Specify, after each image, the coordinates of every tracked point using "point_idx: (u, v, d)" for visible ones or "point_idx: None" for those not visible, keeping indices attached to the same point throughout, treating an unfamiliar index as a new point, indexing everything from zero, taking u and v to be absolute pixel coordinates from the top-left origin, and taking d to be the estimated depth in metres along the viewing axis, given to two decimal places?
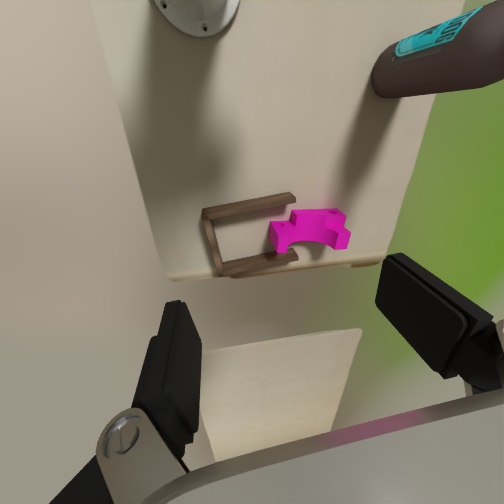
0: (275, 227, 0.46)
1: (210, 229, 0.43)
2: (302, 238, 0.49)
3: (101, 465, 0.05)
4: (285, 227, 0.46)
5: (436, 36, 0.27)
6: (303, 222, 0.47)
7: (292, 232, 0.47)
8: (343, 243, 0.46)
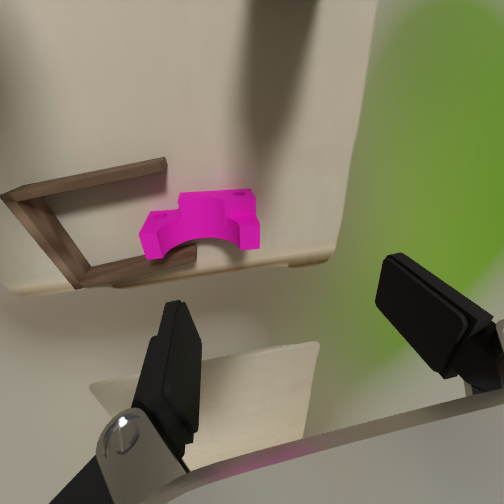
0: (148, 220, 0.30)
1: (26, 218, 0.27)
2: (200, 234, 0.34)
3: (101, 465, 0.05)
4: (164, 219, 0.30)
5: None
6: (194, 211, 0.31)
7: (178, 226, 0.31)
8: (252, 240, 0.30)
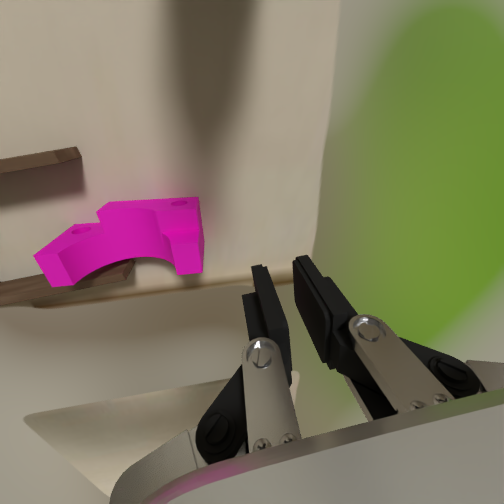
0: (62, 236, 0.24)
1: None
2: (135, 253, 0.27)
3: (254, 372, 0.06)
4: (81, 235, 0.24)
5: None
6: (122, 225, 0.25)
7: (101, 243, 0.25)
8: (190, 262, 0.24)
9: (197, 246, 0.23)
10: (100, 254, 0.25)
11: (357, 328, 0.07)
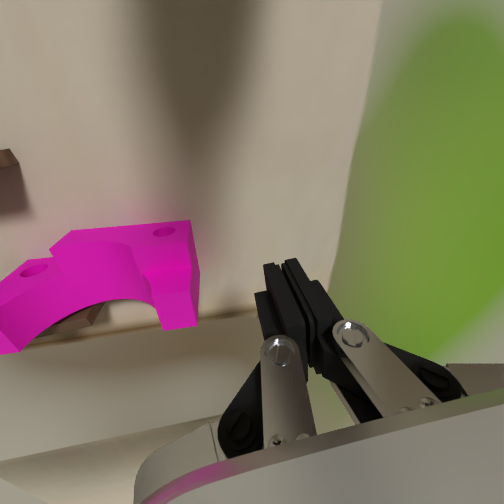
0: (5, 281, 0.18)
1: None
2: (109, 295, 0.21)
3: (274, 369, 0.06)
4: (32, 280, 0.18)
5: None
6: (89, 262, 0.19)
7: (60, 289, 0.19)
8: (180, 315, 0.17)
9: (189, 295, 0.17)
10: (60, 302, 0.19)
11: (341, 334, 0.07)
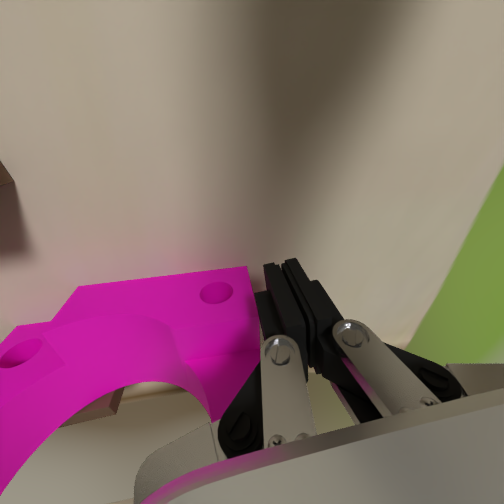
0: None
1: None
2: (132, 378, 0.14)
3: (274, 369, 0.06)
4: (17, 375, 0.11)
5: None
6: (104, 342, 0.12)
7: (60, 384, 0.12)
8: None
9: None
10: (60, 402, 0.12)
11: (341, 334, 0.07)
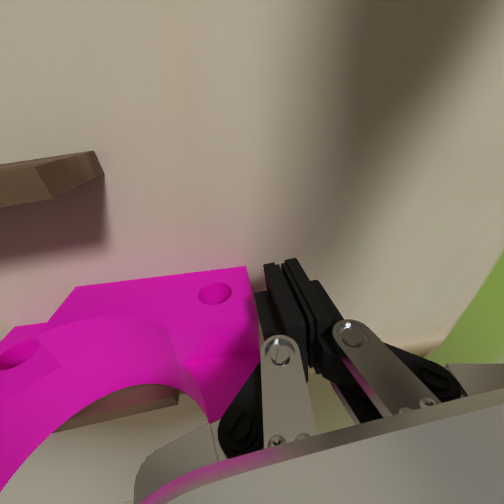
0: None
1: None
2: (130, 381, 0.14)
3: (274, 370, 0.06)
4: (12, 377, 0.11)
5: None
6: (101, 343, 0.12)
7: (56, 386, 0.12)
8: None
9: None
10: (57, 404, 0.12)
11: (341, 334, 0.07)
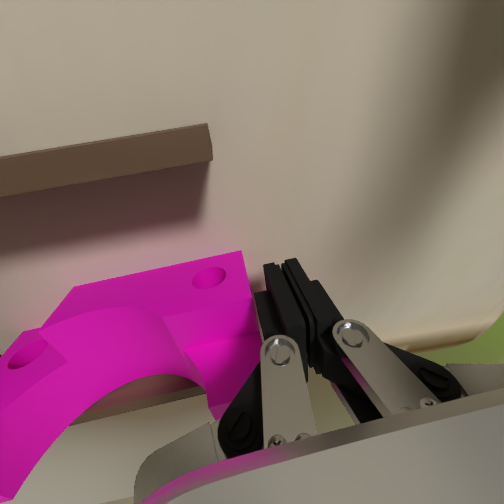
0: None
1: None
2: (138, 373, 0.14)
3: (274, 369, 0.06)
4: (23, 375, 0.12)
5: None
6: (103, 337, 0.12)
7: (66, 381, 0.12)
8: None
9: None
10: (69, 399, 0.13)
11: (341, 334, 0.07)
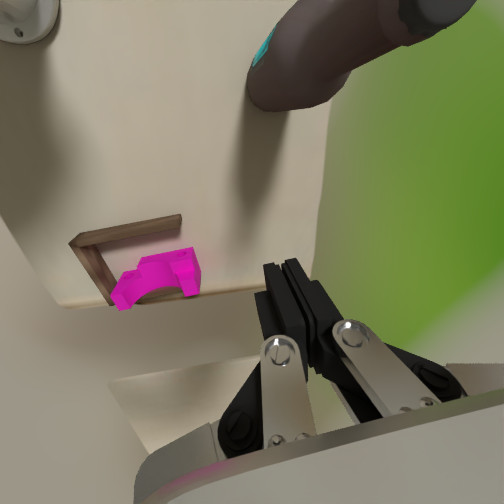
0: (119, 281, 0.43)
1: (83, 257, 0.39)
2: (160, 285, 0.46)
3: (274, 369, 0.06)
4: (130, 280, 0.43)
5: (265, 44, 0.22)
6: (151, 270, 0.43)
7: (141, 283, 0.43)
8: (191, 289, 0.42)
9: (194, 280, 0.41)
10: (141, 289, 0.44)
11: (341, 334, 0.07)
